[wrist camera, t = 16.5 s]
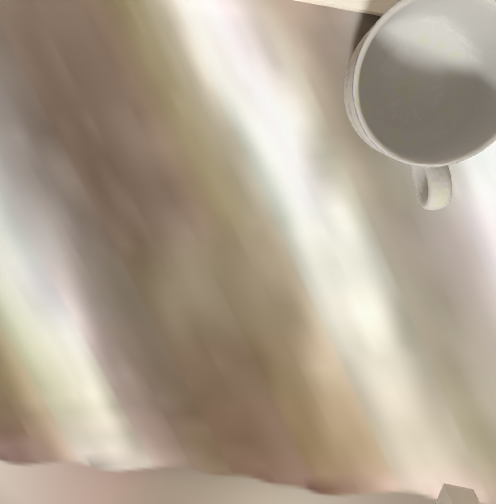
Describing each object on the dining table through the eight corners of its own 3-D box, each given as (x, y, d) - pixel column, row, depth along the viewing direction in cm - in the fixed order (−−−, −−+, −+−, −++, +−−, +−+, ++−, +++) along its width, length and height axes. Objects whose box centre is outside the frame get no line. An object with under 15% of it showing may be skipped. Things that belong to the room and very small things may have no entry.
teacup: (345, 8, 33) (362, -21, 26) (493, 11, 32) (556, -18, 25) (329, 190, 38) (339, 212, 30) (458, 196, 37) (503, 220, 29)
